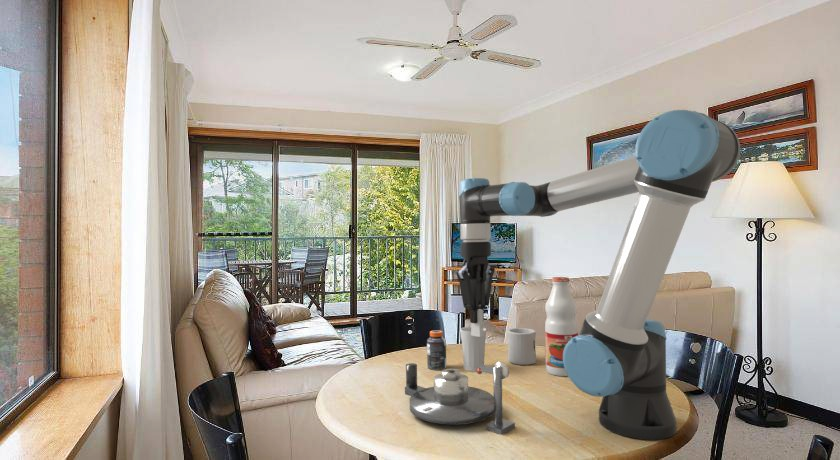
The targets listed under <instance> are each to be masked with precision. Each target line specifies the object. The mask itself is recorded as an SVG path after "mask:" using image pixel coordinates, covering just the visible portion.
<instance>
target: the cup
mask: <svg viewBox="0 0 840 460" xmlns="http://www.w3.org/2000/svg"><path fill="white" fill-rule="evenodd" d="M459 331H460V339H461V350H462V360H463V370H465V371H468V372H477V369H478V368H481V366H482V365H485V355H486V354H485V353H486V340H487V339H486V338H487V337H486V336H487V328H486V327H483V336H481V337H477V336H472V335H471V326H464V327H461V328H460V329H459Z"/></svg>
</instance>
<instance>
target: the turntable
mask: <svg viewBox="0 0 840 460" xmlns="http://www.w3.org/2000/svg"><path fill="white" fill-rule="evenodd" d="M405 381H406V382H405V384H406V385H405V386H404V395H405V396H408V397H409V411H410V412H411V414H412V415H413V416H414V417H417V419H420V420H423V421H426V422H430V423H434V424H441V425H467V424H473V423H477V422H482V421H483V420H487V419H488V418H490V417H492V416H494V394H492V393H490V392H488V391H486V390H484V389H481V388H479V387H473V386H469V385H468V402H466V403H464V404H461V405H455V406H449V405H442V404H439V403H437V402H435V400H434V386H430V387H423V386H420V385H418V364H417V363H414V362H413V363H412V362H411V363H407V364H405Z"/></svg>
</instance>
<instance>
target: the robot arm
mask: <svg viewBox="0 0 840 460" xmlns="http://www.w3.org/2000/svg"><path fill="white" fill-rule="evenodd" d="M634 153H635V156H631V157H629V158H625V159H621V160H618V161H615V162H611V163H608V164H606V165H602V166H599V167H595V168H592V169H588V170H586V171H582V172H579V173H576V174H573V175H572V174H571V175H569V176H565V177H562V178H560V179H555V180H552V181H551V182H550V181H549V182H545V183H543V184H539V185H530V184H529V183H527V182H525V181H522V182H521V181H520V182H517V181H516V182H515V181H512V182H507V183H500V184H499V183H498V184H492V185H491V184H490V180H489V179H488V178H485V177H483V178H482V177H474V178H464V179H462V180H461V181H460V183H459V192H458V193H459V195H458V199H459V224H460V225H459V226H460V228H459V229H460V233H459V234H460V240H461V241H462V242H461V243H460V256H461V257H462V258H463V262H462V268H460V269H457V270H456V271H455V274H456V276H457V278H458V281H459V287H460V288H459V289H460V292H461V293H460V294H461V301H462V304H463V305H462V306H463V308H465V309H467V310H469V321H470V327H471V335H472V336H477V337H481V336H483V328H484V320H485V318H484V317H485V316H484V315H485V313H484V312H485V311H484V310H487V309H488V307H489V305H490V301H491V293H492V286H493V285H492V284H493V277H494V274H495V272H496V270H495V267H493V266H490V264H489V260H488V257H491V255H492V248H491V246H492V244H491V243H492V242H490V241H489V240H490V239H492V235H491V234H492V233H491V217H505V216H506V217H507V216H508V217H510V216H511V217H518V216H519V217H541V218H545V217H549V216H550V217H551V216H553V215H555V214H558V212H562V211H565V210H570V209H574V208H578V207H579V208H580V207H581V206H586V205H590V204H594V203H599V202H603V201H607V200H611V199H616V198H621V197H624V196H628V195H632V194H637V193H638V195H637V198H636V201H635V205H634V206H633V209H632V212H631V216H630V217H629V221H628V222H627V226H626V229H625V232H624V233H623V234H624V235H623V236H622V239H621V242H620V245H619V248H618V251H617V254H616V255H615V259H614V262H613V265H612V268H611V270H610V273H609V276H608V279H607V280H606V284H605V287H604V290H603V293H602V295H601V298H600V301H599V303H598V306H597V309H596V310H594V311H589V312H588V313H587V314H586V315H585V318H584V320H583V323H582V326H581V329H580V331H579V333H578V336H575V337H573V338H572V339H571V340H570V341H569V342H568V343H567V344H566V346H565V348H564V351H563V364H564V368H565V370H566V371H567V373H568V376H567V377H568V378H569V380H570V381H571V382H572V383H573V385H574V386H575V387H576V388H577V389H579V391H582V392H583V393H585V394H587V395H590V396H592V397H597V398H598V397H599V398H600V397H601V398H602V399H601V402H600V405H599V408H598V421H599V425H601V426H602V427H603V428H604V429H606V430H608V431H610V432H612V433H615V434H618V435H621V436H624V437H628V438H631V439H639V440H647V441H648V440H655V441H656V440H665V439H668V438H672V437H673V436H675V435H676V433H677V419H676V415H675V413H674V411H673V410H674V409H673V407H672V404H671V402H670V399H669V397H668V394H667V355H666V354H667V349H666V347H667V345H666V343H667V342H666V341H667V336H666V328H665V325H664V323H663V322H661V321H659V320H656V319H651V318H650V319H649V318H648V317H649V314H650V311H651V309H652V307H653V304H654V301H655V298H656V296H657V294H658V291H659V290H660V287H661V284H662V281H663V280H664V279H663V278H664V276H665V274H666V271H667V268H668V266H669V264H670V261H671V259H672V257H673V253H674V251H675V248H676V246H677V243H678V241H679V238H680V235H681V234H682V231H683V228H684V226H685V223H686V221H687V218H688V215H689V213H690V210H691V208H692V207H693V206H694V205H696V204H698V203H699V204H700V203H701V202H703V201H705V199H706V197H707V195H708V193H709V189H710V187H711V185H712V183H713V182H717V181H718V180H721V179H723V178H724V177H726V176H727V175H728V174H730V172H731V171H733V169H734V168H735V167H736V165H737V164H738V161H739V159H740V154H741V142H740V140H739V137H738V135H737V133H736V132H735V131H734V129H733V128H731V126H729V125H727V124H725V123H724V122H722V121H719V120H717V119H714V118H712V117H711V116H709V115H708V114H705V113H702V112H698V111H695V110H687V109H674V110H669V111H666V112H663V113H661V114H659V115H657V116H655V117H654V118H652V119H651V120H650V121H649V122H647V124H645V125H644V127H643V128H642V130H641V132H640V133H639V134H638V137H637V139H636V143H635V149H634Z"/></svg>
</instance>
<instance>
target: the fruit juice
mask: <svg viewBox="0 0 840 460" xmlns="http://www.w3.org/2000/svg"><path fill="white" fill-rule="evenodd" d="M551 283H552V287H551V289H550V294H549V296H548V299H547V300H546V301H545V304H544V305H545V306H544V310H545V314H546V319H545V322H544V343H545V348H544V350H545V371H546V372H547V373H548V374H550V375H553V376H556V377H557V376H558V377H568V373H567V371H566V370H565V368H564V364H563V351H564V348H565V346H566V344H567V343H568V342H569V341H570V340H571V339H572V338H573V337H575V336H578V335H579V325H578V321H577V318H576V317H577V313H578V304H577V303H576V301H575V300H574V299H575V298H574V297H573V295H572V292H571V289H570V287H569V286H570V285H569V284H570V278H569V277H567V276H553V277H552V278H551Z"/></svg>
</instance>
